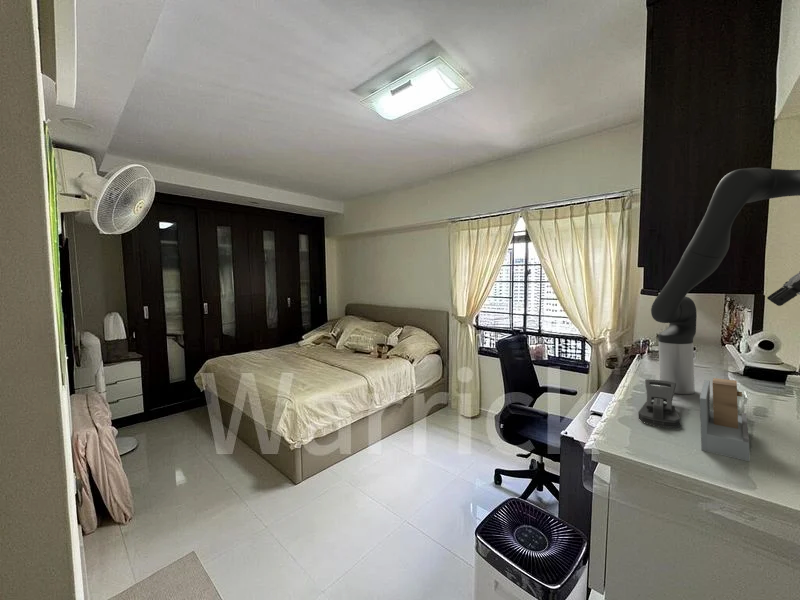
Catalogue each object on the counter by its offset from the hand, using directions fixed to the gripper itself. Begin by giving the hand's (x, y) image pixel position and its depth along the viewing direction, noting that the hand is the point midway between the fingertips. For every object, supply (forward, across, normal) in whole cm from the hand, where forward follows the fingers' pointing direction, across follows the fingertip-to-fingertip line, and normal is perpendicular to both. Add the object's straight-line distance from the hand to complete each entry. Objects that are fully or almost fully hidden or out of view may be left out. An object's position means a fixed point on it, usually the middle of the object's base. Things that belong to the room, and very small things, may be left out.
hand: (772, 302), depth 75 cm
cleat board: (+29, +9, +17) cm, 35 cm away
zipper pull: (+39, -4, +8) cm, 40 cm away
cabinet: (+26, +8, +14) cm, 31 cm away
